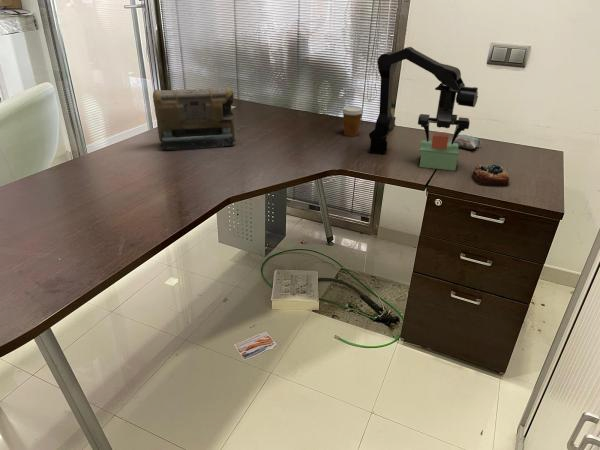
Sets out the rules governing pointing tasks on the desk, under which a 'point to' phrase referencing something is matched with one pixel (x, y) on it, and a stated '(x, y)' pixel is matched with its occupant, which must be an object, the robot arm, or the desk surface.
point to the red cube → (440, 140)
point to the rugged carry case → (194, 118)
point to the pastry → (490, 175)
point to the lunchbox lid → (450, 149)
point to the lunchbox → (438, 161)
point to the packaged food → (467, 141)
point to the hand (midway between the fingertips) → (439, 142)
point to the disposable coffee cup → (352, 120)
